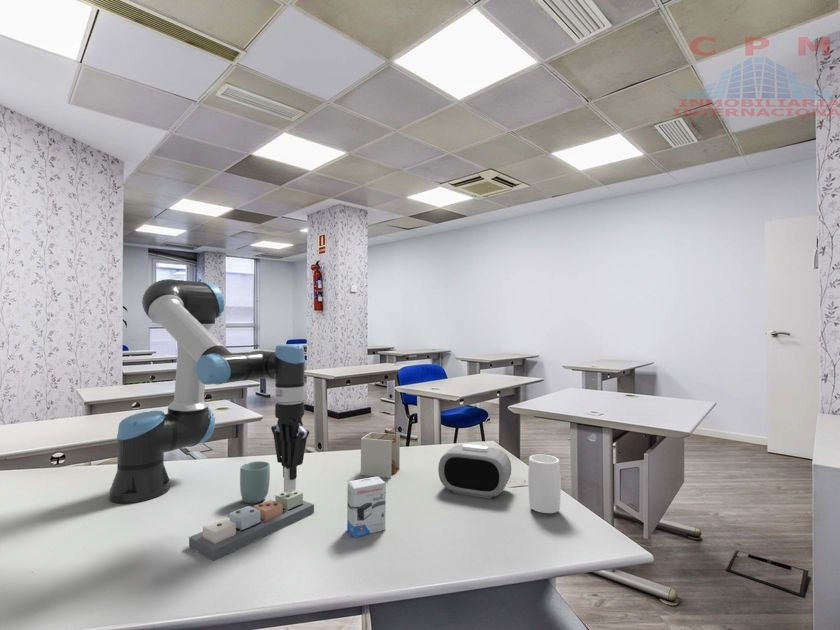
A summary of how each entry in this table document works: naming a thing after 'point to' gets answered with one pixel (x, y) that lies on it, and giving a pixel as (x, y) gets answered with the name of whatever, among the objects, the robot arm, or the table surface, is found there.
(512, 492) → the table surface
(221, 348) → the robot arm
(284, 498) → the tile
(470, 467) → the alarm clock
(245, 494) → the cup
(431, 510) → the table surface
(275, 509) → the tile
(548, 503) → the cup
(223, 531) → the tile
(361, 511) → the ink box
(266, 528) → the board
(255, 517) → the tile
